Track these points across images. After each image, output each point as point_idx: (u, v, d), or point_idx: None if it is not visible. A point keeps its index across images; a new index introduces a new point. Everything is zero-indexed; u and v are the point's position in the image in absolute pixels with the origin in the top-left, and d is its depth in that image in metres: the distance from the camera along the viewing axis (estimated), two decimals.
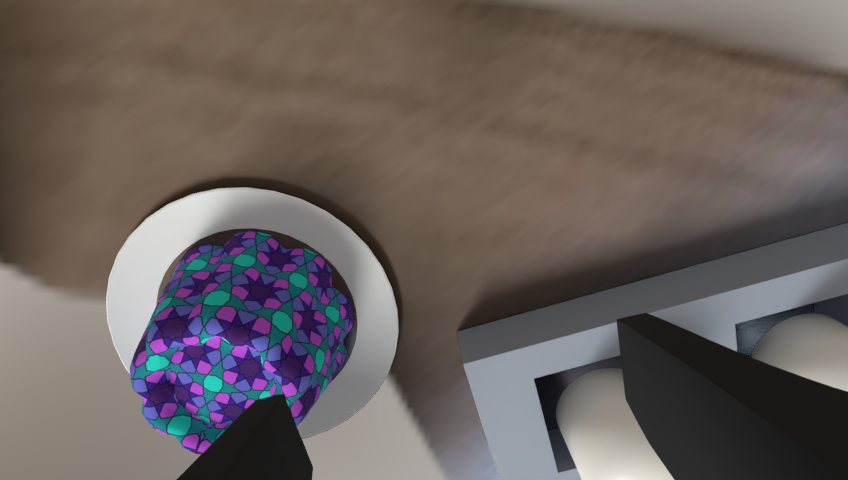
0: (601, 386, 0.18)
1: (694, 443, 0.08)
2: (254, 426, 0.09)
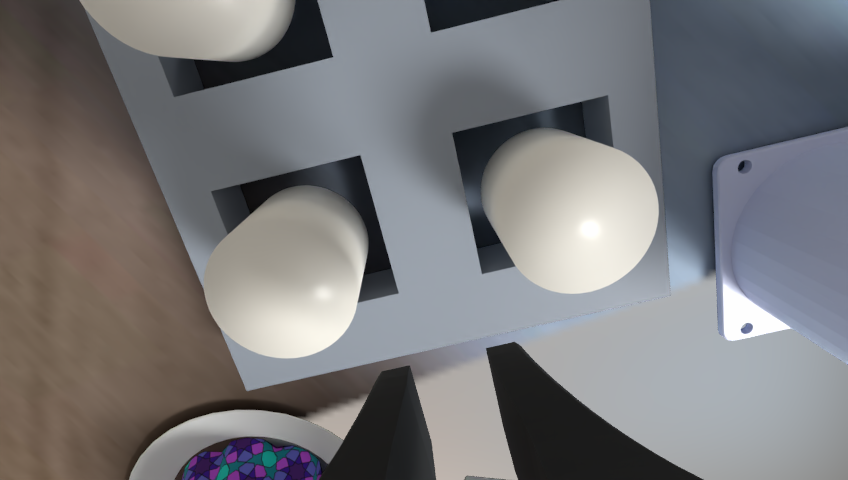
0: None
1: (529, 478, 0.08)
2: (400, 394, 0.09)
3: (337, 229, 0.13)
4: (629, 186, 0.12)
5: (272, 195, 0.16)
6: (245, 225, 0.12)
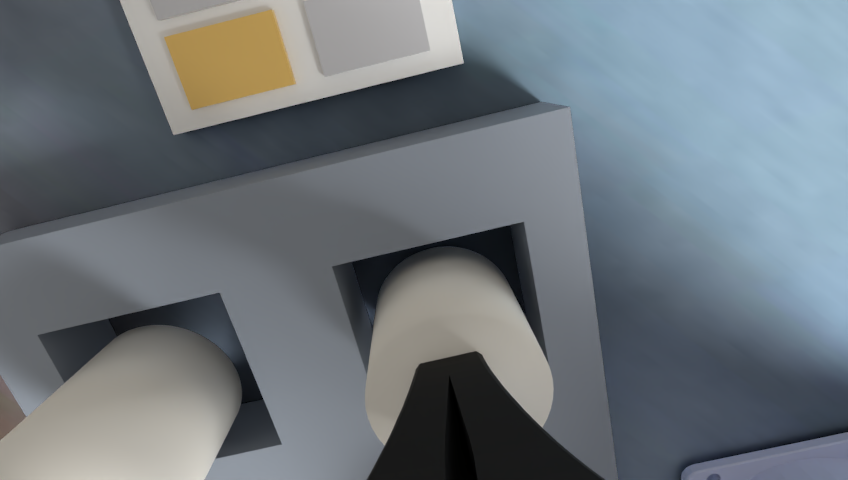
0: None
1: None
2: (444, 384, 0.09)
3: None
4: None
5: None
6: None
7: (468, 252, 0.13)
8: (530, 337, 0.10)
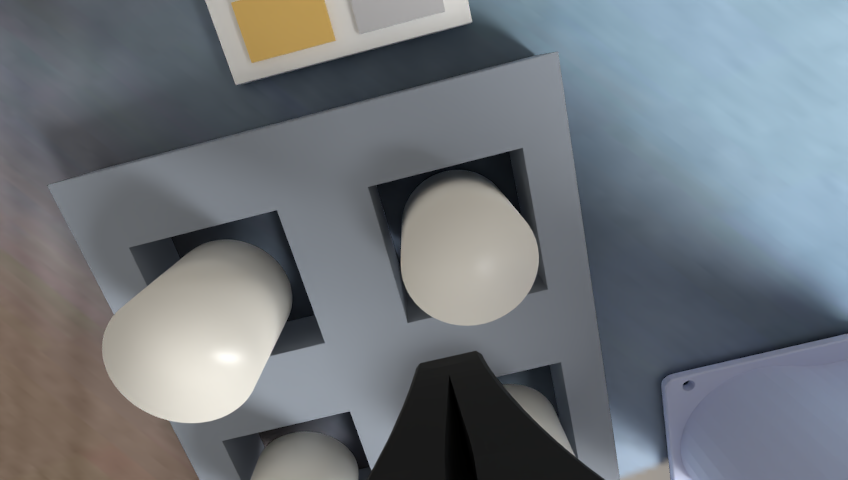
0: None
1: None
2: (444, 384, 0.08)
3: None
4: None
5: (274, 440, 0.18)
6: None
7: (474, 173, 0.17)
8: None
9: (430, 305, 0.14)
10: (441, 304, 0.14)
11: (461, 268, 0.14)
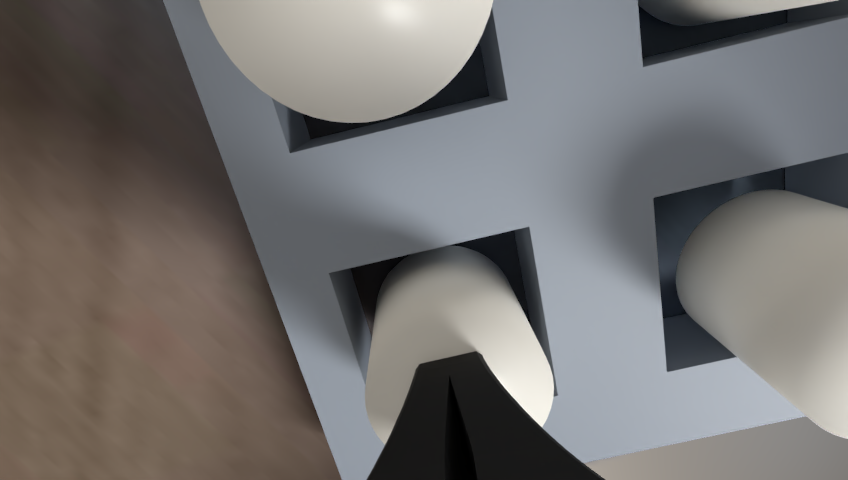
0: None
1: None
2: (444, 384, 0.09)
3: (520, 315, 0.11)
4: None
5: (407, 257, 0.13)
6: (425, 319, 0.10)
7: None
8: None
9: None
10: None
11: None
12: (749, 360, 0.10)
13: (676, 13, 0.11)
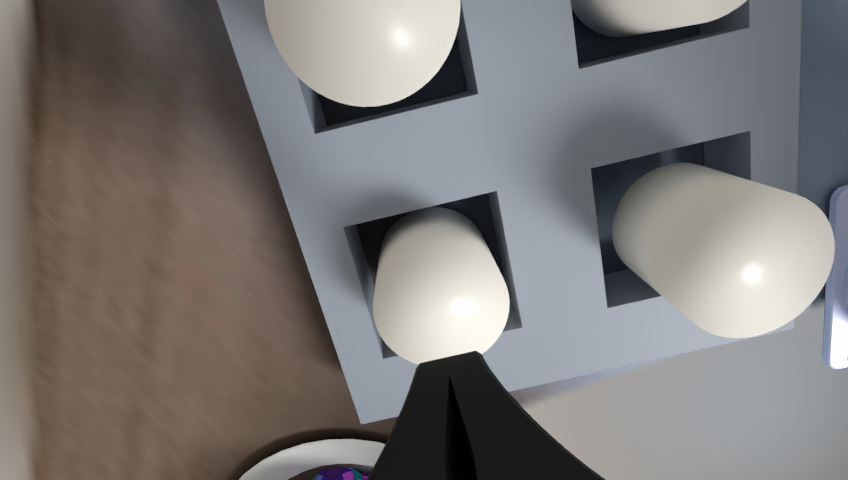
0: None
1: None
2: (444, 384, 0.08)
3: (486, 251, 0.15)
4: (807, 232, 0.12)
5: (403, 216, 0.17)
6: (416, 249, 0.13)
7: None
8: None
9: None
10: None
11: None
12: (656, 285, 0.14)
13: (606, 28, 0.15)
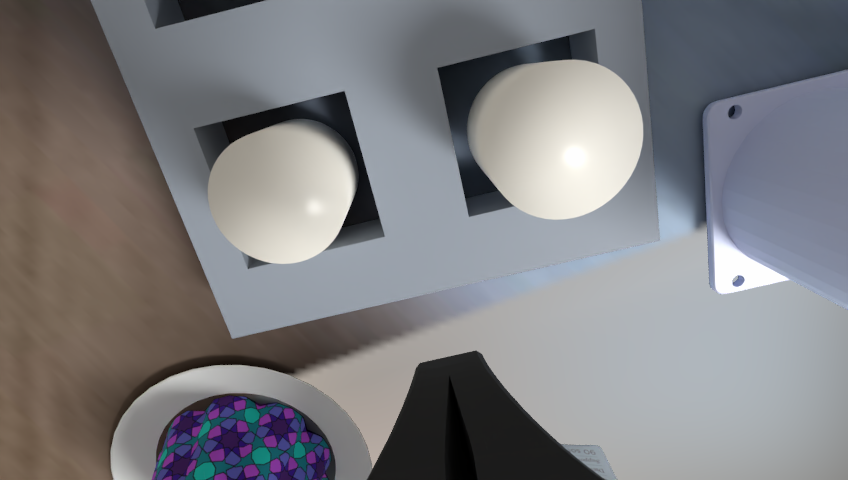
0: None
1: None
2: (444, 384, 0.09)
3: (328, 146, 0.15)
4: (613, 105, 0.12)
5: None
6: (245, 136, 0.13)
7: None
8: None
9: None
10: None
11: None
12: (487, 175, 0.14)
13: None
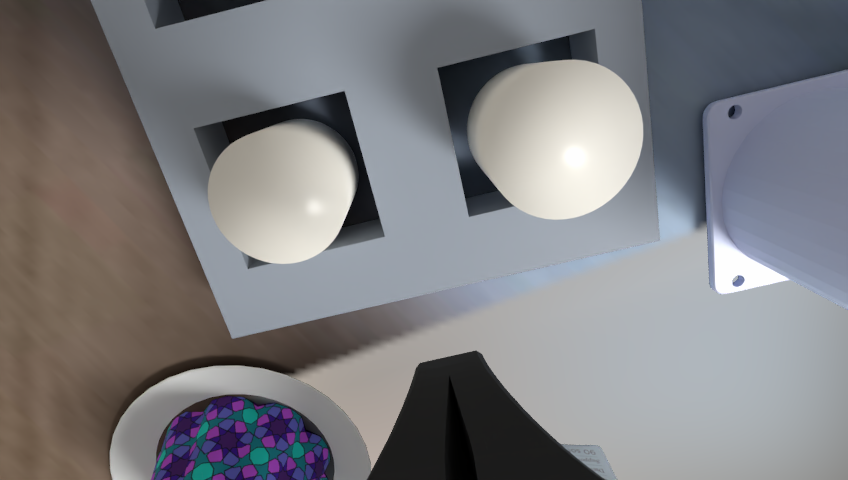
0: None
1: None
2: (444, 384, 0.09)
3: (328, 146, 0.15)
4: (613, 105, 0.12)
5: None
6: (245, 136, 0.13)
7: None
8: None
9: None
10: None
11: None
12: (487, 175, 0.14)
13: None
